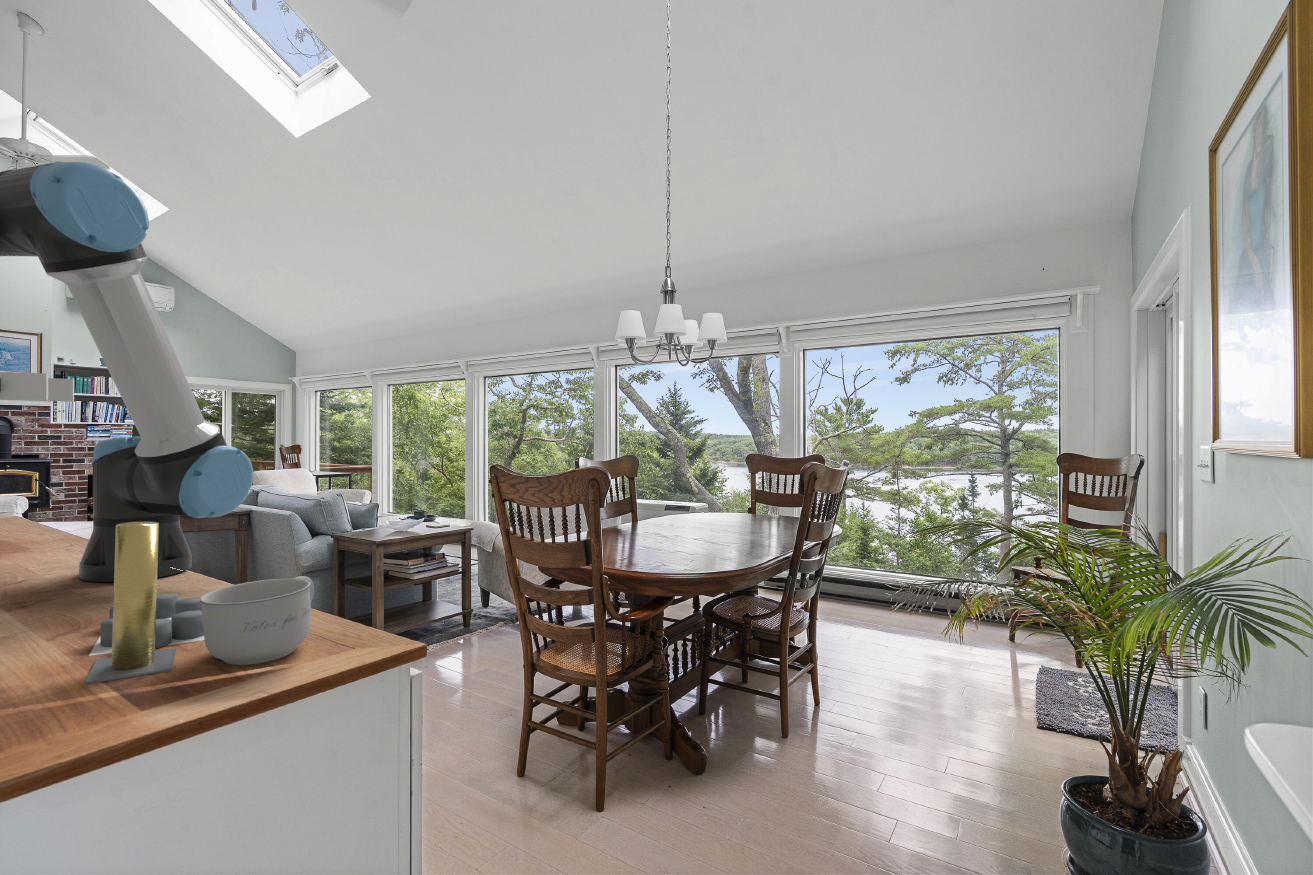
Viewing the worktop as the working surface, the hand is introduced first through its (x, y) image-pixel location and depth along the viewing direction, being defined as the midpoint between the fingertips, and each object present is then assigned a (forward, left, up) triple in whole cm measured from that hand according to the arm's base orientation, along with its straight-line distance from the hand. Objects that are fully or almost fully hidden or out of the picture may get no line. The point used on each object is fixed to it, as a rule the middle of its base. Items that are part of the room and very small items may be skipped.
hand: (62, 388), depth 73 cm
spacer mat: (-5, +8, -30) cm, 31 cm away
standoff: (+9, +7, -29) cm, 32 cm away
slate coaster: (+9, +7, -30) cm, 32 cm away
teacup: (+10, +20, -30) cm, 37 cm away
